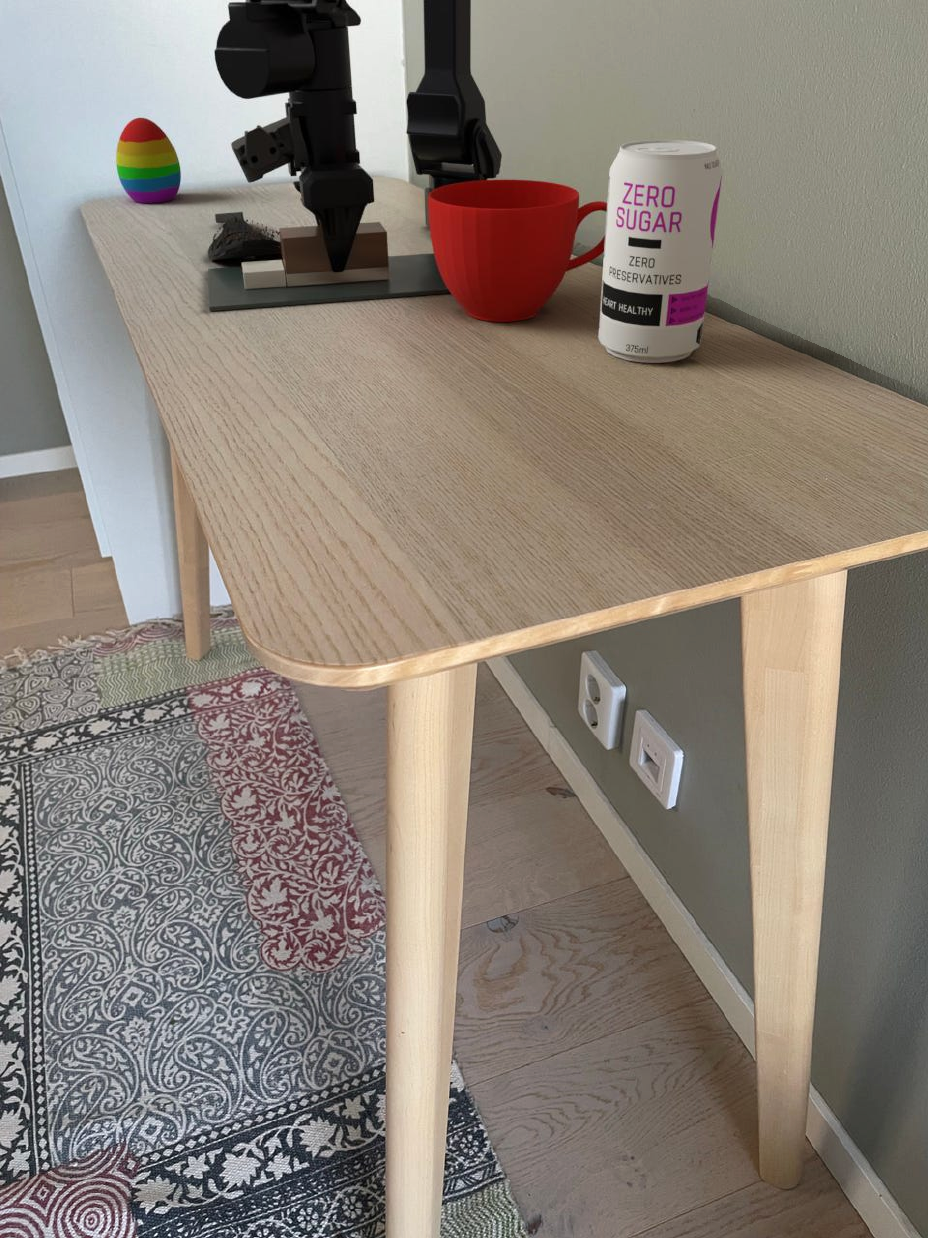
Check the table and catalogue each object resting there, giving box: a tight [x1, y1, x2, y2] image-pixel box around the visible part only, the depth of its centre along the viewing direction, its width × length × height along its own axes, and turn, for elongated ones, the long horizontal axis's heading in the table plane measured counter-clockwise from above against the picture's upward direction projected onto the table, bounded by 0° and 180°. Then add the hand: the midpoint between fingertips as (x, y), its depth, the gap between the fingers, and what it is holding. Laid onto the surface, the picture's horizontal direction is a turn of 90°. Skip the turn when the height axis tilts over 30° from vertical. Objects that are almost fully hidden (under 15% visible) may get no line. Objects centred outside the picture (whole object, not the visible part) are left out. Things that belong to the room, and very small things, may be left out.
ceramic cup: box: [428, 179, 607, 323], centre depth 86 cm, size 13×17×10 cm
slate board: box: [207, 252, 451, 312], centre depth 97 cm, size 24×14×1 cm, turn 103°
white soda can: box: [597, 139, 724, 364], centre depth 75 cm, size 8×8×15 cm
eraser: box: [278, 221, 389, 287], centre depth 96 cm, size 10×4×4 cm, turn 103°
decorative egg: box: [115, 117, 182, 204], centre depth 130 cm, size 8×8×10 cm
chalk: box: [241, 259, 287, 289], centre depth 96 cm, size 4×4×2 cm
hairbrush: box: [207, 211, 282, 261], centre depth 110 cm, size 8×4×25 cm
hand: (335, 265), depth 97 cm, fingers closed on eraser, 4 cm apart
